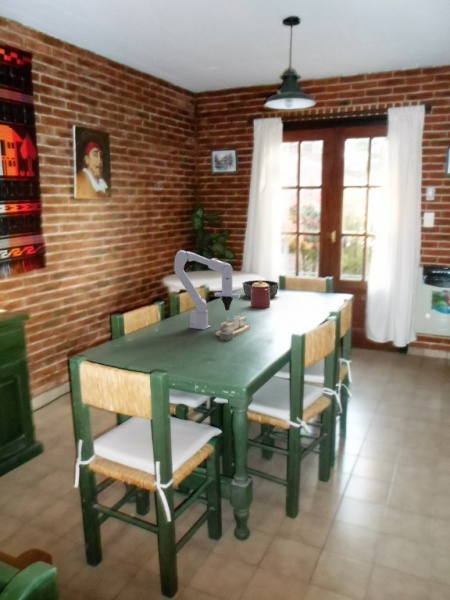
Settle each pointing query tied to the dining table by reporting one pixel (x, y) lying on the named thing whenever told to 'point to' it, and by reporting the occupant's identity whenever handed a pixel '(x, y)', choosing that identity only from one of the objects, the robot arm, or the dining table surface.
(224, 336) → the box
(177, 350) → the dining table surface
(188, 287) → the robot arm
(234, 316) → the block
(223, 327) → the board
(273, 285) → the bundt pan
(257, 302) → the canister
